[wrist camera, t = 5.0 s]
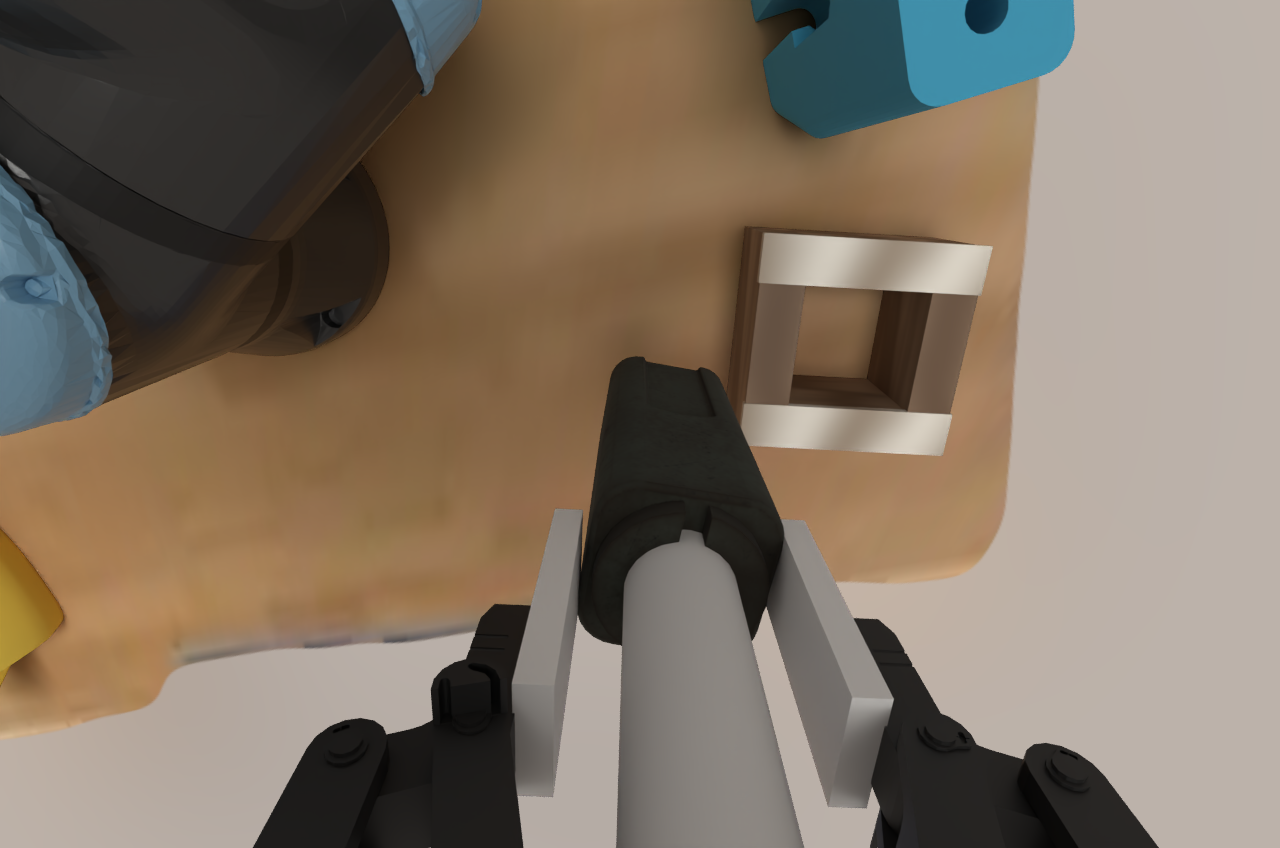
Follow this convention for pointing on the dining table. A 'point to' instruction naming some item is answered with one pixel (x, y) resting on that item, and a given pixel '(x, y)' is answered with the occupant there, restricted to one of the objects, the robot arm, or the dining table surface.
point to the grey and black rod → (685, 613)
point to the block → (906, 56)
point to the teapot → (22, 606)
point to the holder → (902, 352)
